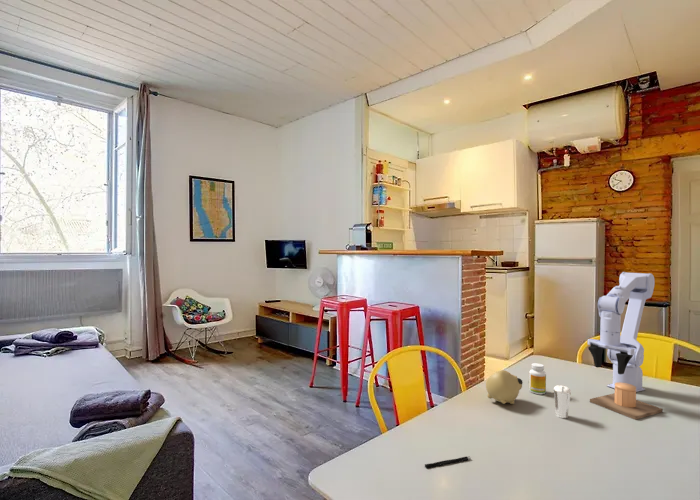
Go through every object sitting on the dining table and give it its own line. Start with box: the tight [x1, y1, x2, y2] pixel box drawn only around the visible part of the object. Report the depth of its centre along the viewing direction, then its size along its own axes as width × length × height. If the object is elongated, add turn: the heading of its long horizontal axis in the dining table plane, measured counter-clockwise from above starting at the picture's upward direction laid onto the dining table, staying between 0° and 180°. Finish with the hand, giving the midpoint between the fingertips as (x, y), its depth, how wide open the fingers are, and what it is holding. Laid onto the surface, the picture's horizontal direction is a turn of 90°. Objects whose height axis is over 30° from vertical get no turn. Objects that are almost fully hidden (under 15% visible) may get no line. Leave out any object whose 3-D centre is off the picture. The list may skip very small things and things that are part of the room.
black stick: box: [424, 456, 472, 470], centre depth 90 cm, size 12×1×1 cm, turn 108°
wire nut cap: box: [614, 382, 637, 408], centre depth 123 cm, size 6×6×6 cm
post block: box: [589, 392, 663, 420], centre depth 123 cm, size 14×14×5 cm
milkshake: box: [553, 384, 572, 419], centre depth 115 cm, size 4×5×10 cm
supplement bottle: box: [528, 362, 547, 395], centre depth 135 cm, size 5×5×10 cm
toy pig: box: [485, 370, 524, 405], centre depth 126 cm, size 10×12×11 cm
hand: (609, 370), depth 130 cm, fingers open, 7 cm apart
